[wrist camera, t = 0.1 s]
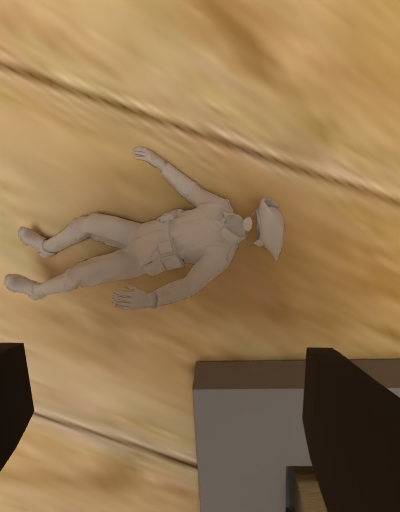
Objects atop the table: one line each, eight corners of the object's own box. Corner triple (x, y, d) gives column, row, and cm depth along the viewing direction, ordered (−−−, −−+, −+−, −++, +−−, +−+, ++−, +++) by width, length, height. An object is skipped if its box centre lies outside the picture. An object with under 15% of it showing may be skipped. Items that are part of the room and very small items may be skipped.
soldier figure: (30, 177, 20) (245, 84, 14) (95, 222, 23) (285, 162, 18) (-13, 323, 16) (253, 271, 11) (72, 348, 20) (300, 319, 15)
